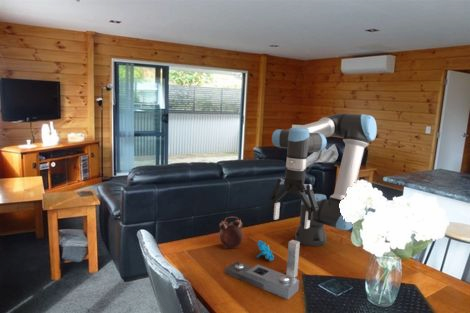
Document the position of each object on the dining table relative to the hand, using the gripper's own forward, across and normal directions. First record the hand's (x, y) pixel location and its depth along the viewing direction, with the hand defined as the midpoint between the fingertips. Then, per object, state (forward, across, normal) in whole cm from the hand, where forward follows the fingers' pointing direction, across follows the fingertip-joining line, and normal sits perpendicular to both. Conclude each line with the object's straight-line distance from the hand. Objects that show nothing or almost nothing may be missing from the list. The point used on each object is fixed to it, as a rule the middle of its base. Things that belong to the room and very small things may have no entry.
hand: (291, 223), depth 133 cm
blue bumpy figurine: (+22, -15, +7) cm, 27 cm away
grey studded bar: (+22, -5, -11) cm, 25 cm away
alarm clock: (+22, -33, +4) cm, 39 cm away
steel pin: (+21, +2, +2) cm, 21 cm away
